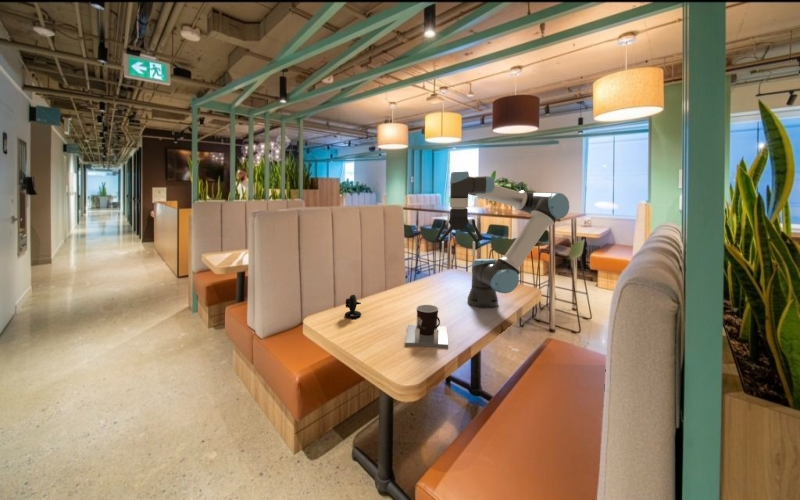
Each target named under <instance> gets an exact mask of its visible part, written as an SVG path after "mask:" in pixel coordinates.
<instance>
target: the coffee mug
mask: <svg viewBox="0 0 800 500" xmlns="http://www.w3.org/2000/svg"><path fill="white" fill-rule="evenodd" d="M438 313H439V307H438V306H436V305H432V304H419V305H418V306H417V307H416V319H417V318H418V328H419V329H420V334H421V335H425V336H430V335H433V334H434V330H435V329H436V328H437V327H438V326H441V319H440V318H439V314H438ZM437 315H438V317H437ZM437 319H438V323H437V326H436V322H437Z"/></svg>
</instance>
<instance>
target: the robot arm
mask: <svg viewBox="0 0 800 500" xmlns="http://www.w3.org/2000/svg"><path fill="white" fill-rule="evenodd" d="M449 185H450V186H449V187H450V190H449V191H450V198H449V208H450V209H449V219H444V218H443V219H442V224H441V226H440V228H439V229H438V231H437V233H436V236H435V238H434V241H436V242H438V243H439V244H438V248H439V250H441V258H444V253H445V252H444V251H445V249H444V248H445V247H444V246H445V241H444V240H445V239H446V237H448V235H449V234H450V233H451V232H452V231H453V230H456V231H457V230H460V231H463V230H465V231H466V232H467V234H468V235H469V236H470V237H471V239H473V240H474V241H472V251H471V252H472V255H471V256H472V257H473V258H476V250H478V248H479V247H478V246H479V242H480V241H483V237H482V235H481V234H480V231H479V229H478V227H477V225H476V219H473V218H471V219H468V217H469V216H468V215H469V213H468V212H469V211H468V208H469V195H470V196H474V197H478V198H481V199H485V200H489V201H493V202H496V203H499V204H503V205H508V206H510V207H513V208H514V209H515V210H517V211H521V212H523V213H527V214H528V215H531V217H530V219H528V221H527V223H526V224H525V226H524V227H523V228H522V230H521V231H520V233H519V234H518V236H517V237H516V239H515V240H514V241H513V243H512V244H511V246H510V247H509V248H508V249H507V252H506V253H505V254H504V256H503V257H498V259H495V258H477V259H473V261H472V265H471V268H472V269H471V288H470V291H469V294H468V296H467V304H469V306H472V307H477V308H481V309H482V308H483V309H486V308H487V309H490V308H495V307H497V306H498V304H499V299H498V295H497V293H500V294H509V293H512V292H513V291H514V290H515V289H516V288H517V287H518V285H519V283H520V281H519V279H520V277H519V275H520V273H521V270H520V268H521V266H522V265H523V263H524V262H525V261H526V259H527V257H528V256H529V255H530V252H531V251H532V250H533V249H534V247H535V246H536V244H538V242H539V240H540V239H541V237H542V236H543V234H544V233H545V231H546V230H547V229H548V227H552V226H554V224H555V223H556V222H557V220H560V219H564V218H565V217H566V216H567V215H568V213H569V210H570V201H569V198H568V197H567V196H566V195H565V194H563V193H561V192H556V191H554V192H537V191H536V192H534V191H533V192H531V191H525V190H520V191H518V190H513V189H511V188H507V187H503V186H500V185H496V183H495V180H494V178H493V176H490V175H470V174H469V172H468V171H467V170H466V171H465V170H464V171H463V170H462V171H459V170H458V171H452V172H451V174H450V181H449ZM448 224H449V225H450V226H449V227H448V229H447V230H446V231H445V232H444V233H443V231H444V229H445V226H447V225H448ZM469 224H470V225H471V226H472V228H473V230H474V232H475V234H476V236H477V237H476V236H475V235H474V233H472V231H471V230H470V229H469V227H467V225H469ZM442 233H443V234H442ZM441 235H442V236H441Z"/></svg>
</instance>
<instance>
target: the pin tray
mask: <svg viewBox="0 0 800 500" xmlns="http://www.w3.org/2000/svg"><path fill="white" fill-rule="evenodd" d="M437 317H438V318H439V314H438V315H437ZM438 323H439V322H438V319H437V322H436V326H437V325H438ZM448 340H449V338H448V329H447V326H446V325H439V326H438V327H437V328H436V329H435V330H434V334H433V335H430V336H425V335H421V334H420V329H419V328H418V318H417V317H416V324H407V327H406V335H405V341H404V346H407V347H427V348H429V347H430V348H431V347H432V348H448V349H449V341H448Z"/></svg>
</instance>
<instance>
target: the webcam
mask: <svg viewBox="0 0 800 500" xmlns="http://www.w3.org/2000/svg"><path fill="white" fill-rule="evenodd" d="M357 300H358V299H357V297H356V295H355V294H350V296H349V297H348V298H346V299H345V308H347V309H349V311H346V312H345V313H344V317H345V318H346V319H352V320H353V319H354V320H355V319H358V318H361V317H362V312H361V311H358V310H356V309H357V305H361V304H362V302H359V301H357Z"/></svg>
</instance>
